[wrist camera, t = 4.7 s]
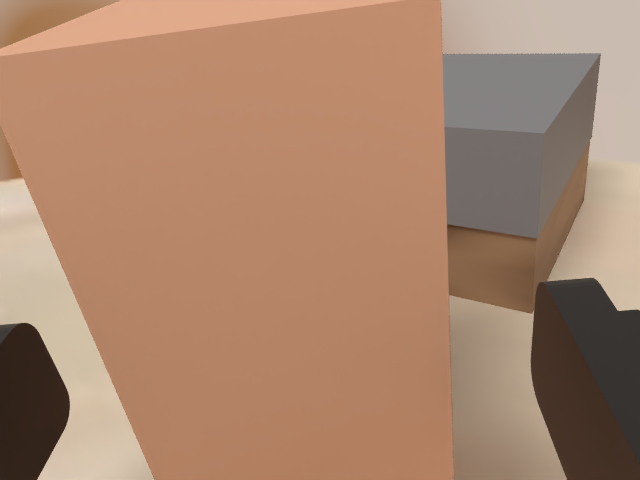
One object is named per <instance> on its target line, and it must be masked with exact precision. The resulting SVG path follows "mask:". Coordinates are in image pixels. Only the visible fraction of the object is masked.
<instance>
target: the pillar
mask: <svg viewBox="0 0 640 480" xmlns="http://www.w3.org/2000/svg"><path fill="white" fill-rule="evenodd" d="M0 125H1V127H2V130H3V132H4V134H5V137H6V139H7V141H8V143H9V146H10V148H11V150H12V153H13V155H14V157H15V160H16V162H17V164H18V166H19V169H20V171H21V173H22V176H23V178H24V180H25V183H26V185H27V187H28V189H29V192H30V194H31V196H32V199H33V201H34V203H35V205H36V208H37V210H38V212H39V215H40V217H41V219H42V222H43V224H44V226H45V228H46V231H47V233H48V235H49V238H50V240H51V242H52V245H53V247H54V249H55V251H56V254H57V256H58V258H59V261H60V263H61V265H62V268H63V270H64V272H65V274H66V277H67V279H68V281H69V284H70V286H71V288H72V291H73V293H74V295H75V297H76V300H77V302H78V304H79V307H80V309H81V311H82V314H83V316H84V318H85V320H86V323H87V325H88V327H89V330H90V332H91V334H92V337H93V339H94V341H95V343H96V346H97V348H98V350H99V353H100V355H101V357H102V360H103V362H104V364H105V366H106V369H107V371H108V373H109V376H110V378H111V380H112V383H113V385H114V387H115V389H116V392H117V394H118V396H119V399H120V401H121V403H122V406H123V408H124V410H125V412H126V415H127V417H128V419H129V422H130V424H131V426H132V429H133V431H134V433H135V435H136V438H137V440H138V442H139V445H140V447H141V449H142V452H143V454H144V456H145V458H146V461H147V463H148V465H149V468H150V470H151V472H152V475H153V477H154V479H155V480H454V475H453V437H452V399H451V361H450V323H449V284H448V246H447V208H446V170H445V131H444V93H443V55H442V17H441V0H121V1H118V2H116V3H114V4H111V5H108V6H106V7H103V8H101V9H98V10H96V11H94V12H91V13H88V14H86V15H84V16H81V17H79V18H76V19H74V20H71V21H69V22H66V23H64V24H61V25H59V26H56V27H54V28H51V29H49V30H46V31H44V32H41V33H39V34H36V35H34V36H31V37H29V38H26V39H24V40H21V41H19V42H17V43H14V44H11V45H9V46H6V47H4V48H1V49H0Z"/></svg>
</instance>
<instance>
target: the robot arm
mask: <svg viewBox="0 0 640 480" xmlns="http://www.w3.org/2000/svg"><path fill="white" fill-rule="evenodd" d="M531 373H532V381H533V386H534V391H535V395H536V398H537V401H538V404H539V407H540V410H541V412H542V415H543V417H544V420H545V423H546V425H547V428H548V431H549V433H550V436H551V438H552V441H553V444H554V446H555V449H556V452H557V454H558V457H559V459H560V462H561V465H562V467H563V470H564V473H565V475H566V478H567V480H640V311H639V310H626V311H617V309H616V308H615V306H614V305H613V303H612V301H611V300H610V298H609V297H608V295H607V294H606V292H605V291H604V289H603V288H602V286H601V285H600V284H599V282H598V281H597V280H596V279H594V278H584V279H572V280H560V281H548V282H540V283H539V284H538V286H537V289H536V295H535V309H534V323H533V337H532V351H531ZM69 410H70V401H69V395H68V391H67V389H66V387H65V384H64V382H63V380H62V378H61V376H60V374H59V372H58V370H57V368H56V366H55V364H54V362H53V360H52V358H51V356H50V354H49V352H48V350H47V348H46V346H45V344H44V342H43V340H42V338H41V336H40V334H39V332H38V331H37V329H36V328H35V327H34V326H32V325H31V324H28V323H18V324H6V325H0V480H37V479H38V477H39V475H40V473H41V471H42V470H43V468H44V466H45V464H46V462H47V460H48V459H49V457H50V455H51V453H52V451H53V449H54V447H55V446H56V444H57V442H58V440H59V438H60V436H61V435H62V433H63V431H64V429H65V427H66V424H67V421H68V417H69Z"/></svg>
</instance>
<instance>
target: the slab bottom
mask: <svg viewBox="0 0 640 480" xmlns="http://www.w3.org/2000/svg"><path fill="white" fill-rule="evenodd" d="M589 146H590V141H589V143H588V145H587V147H586V149H585V150H584V152H583V154H582V156H581V158H580V160H579V162H578V164H577V165H576V167H575V169H574V171H573V173H572V175H571V177H570V179H569V180H568V182H567V184H566V186H565V188H564V190H563V192H562V194H561V195H560V197H559V199H558V201H557V203H556V205H555V207H554V209H553V211H552V212H551V214H550V216H549V218H548V220H547V222H546V224H545V226H544V227H543V229H542V231H541V233H540V235H539V237H538V239H537V238H531V237H524V236H518V235H512V234H506V233H499V232H493V231H487V230H480V229H474V228H468V227H462V226H455V225H449V224H447V246H448V284H449V295H452V296H456V297H461V298H465V299H470V300H474V301H478V302H483V303H487V304H492V305H496V306H500V307H505V308H509V309H514V310H518V311H523V312H527V313H531V314H532V312H533V310H534V308H535V295H536V289H537V286H538V284H539V283H540V282H547V279H548V277H549V275H550V273H551V271H552V268H553V266H554V264H555V262H556V260H557V257H558V255H559V253H560V251H561V249H562V246H563V244H564V242H565V240H566V238H567V236H568V233H569V231H570V229H571V227H572V225H573V222H574V220H575V218H576V216H577V214H578V211H579V209H580V207H581V205H582V203H583V200H584V192H585V183H586V174H587V165H588V154H589Z"/></svg>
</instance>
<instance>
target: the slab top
mask: <svg viewBox="0 0 640 480" xmlns="http://www.w3.org/2000/svg"><path fill="white" fill-rule="evenodd" d="M442 55H443V93H444V131H445V170H446V208H447V224H449V225H455V226H462V227H468V228H474V229H480V230H487V231H493V232H499V233H506V234H512V235H518V236H524V237H531V238H537V239H538V237H539V235H540V233H541V231H542V229H543V227H544V226H545V224H546V222H547V220H548V218H549V216H550V214H551V212H552V211H553V209H554V207H555V205H556V203H557V201H558V199H559V197H560V195H561V194H562V192H563V190H564V188H565V186H566V184H567V182H568V180H569V179H570V177H571V175H572V173H573V171H574V169H575V167H576V165H577V164H578V162H579V160H580V158H581V156H582V154H583V152H584V150H585V149H586V147H587V145H588V143H589V141H590V139H591V137H592V129H593V120H594V111H595V101H596V92H597V83H598V74H599V65H600V56H601V55H600V54H442Z"/></svg>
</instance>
